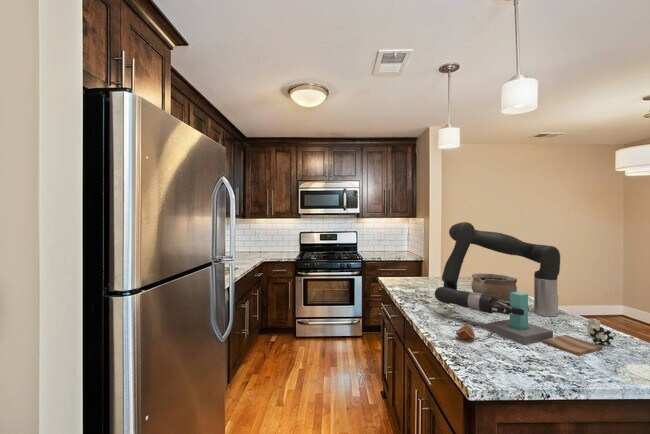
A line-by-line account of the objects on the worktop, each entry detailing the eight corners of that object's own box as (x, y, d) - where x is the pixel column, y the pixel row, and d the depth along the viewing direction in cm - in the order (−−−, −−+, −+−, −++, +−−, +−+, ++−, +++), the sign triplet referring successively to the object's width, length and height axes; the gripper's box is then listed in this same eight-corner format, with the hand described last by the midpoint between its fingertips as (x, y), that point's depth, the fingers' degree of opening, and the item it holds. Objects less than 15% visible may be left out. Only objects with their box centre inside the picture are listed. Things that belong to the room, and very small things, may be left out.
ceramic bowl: (462, 299, 179) (462, 273, 179) (493, 297, 186) (493, 271, 186) (494, 310, 158) (494, 280, 158) (527, 307, 164) (527, 278, 164)
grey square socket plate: (513, 325, 136) (513, 318, 136) (552, 338, 121) (552, 330, 121) (486, 330, 130) (486, 323, 130) (524, 344, 115) (524, 336, 115)
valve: (581, 333, 127) (590, 344, 117) (582, 317, 127) (590, 326, 117) (603, 336, 124) (613, 347, 114) (603, 319, 124) (613, 329, 114)
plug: (517, 328, 129) (517, 291, 129) (527, 332, 125) (528, 294, 125) (509, 330, 127) (510, 292, 127) (520, 333, 123) (520, 295, 123)
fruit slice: (472, 345, 115) (473, 331, 115) (453, 341, 119) (453, 327, 119) (476, 338, 122) (476, 325, 122) (458, 334, 126) (458, 321, 126)
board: (565, 337, 123) (565, 334, 123) (602, 349, 112) (602, 346, 112) (541, 342, 117) (541, 340, 117) (577, 355, 106) (577, 352, 106)
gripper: (474, 296, 132) (520, 304, 119) (488, 291, 141) (531, 298, 129) (474, 314, 132) (520, 324, 119) (487, 308, 141) (531, 317, 129)
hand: (526, 311), depth 124 cm, fingers closed on plug, 5 cm apart
